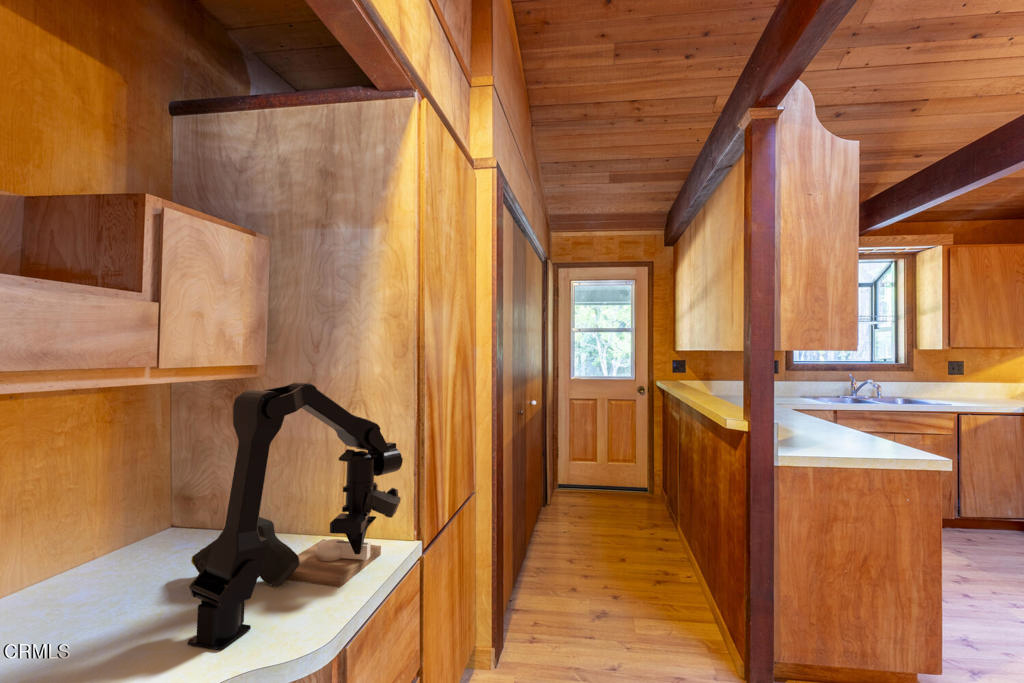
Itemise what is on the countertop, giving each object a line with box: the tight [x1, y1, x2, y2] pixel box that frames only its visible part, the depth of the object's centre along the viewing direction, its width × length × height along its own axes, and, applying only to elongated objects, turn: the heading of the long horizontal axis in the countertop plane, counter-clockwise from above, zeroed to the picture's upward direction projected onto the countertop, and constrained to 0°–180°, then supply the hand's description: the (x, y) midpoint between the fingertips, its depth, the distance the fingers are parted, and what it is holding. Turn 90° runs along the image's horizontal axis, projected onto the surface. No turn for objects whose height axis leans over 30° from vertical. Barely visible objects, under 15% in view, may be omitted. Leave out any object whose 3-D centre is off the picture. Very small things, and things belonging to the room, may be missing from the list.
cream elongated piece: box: [316, 538, 372, 561], centre depth 108 cm, size 12×6×3 cm, turn 83°
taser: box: [190, 516, 300, 588], centre depth 100 cm, size 4×18×15 cm
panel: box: [286, 539, 382, 588], centre depth 108 cm, size 17×15×2 cm
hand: (357, 554), depth 105 cm, fingers closed
